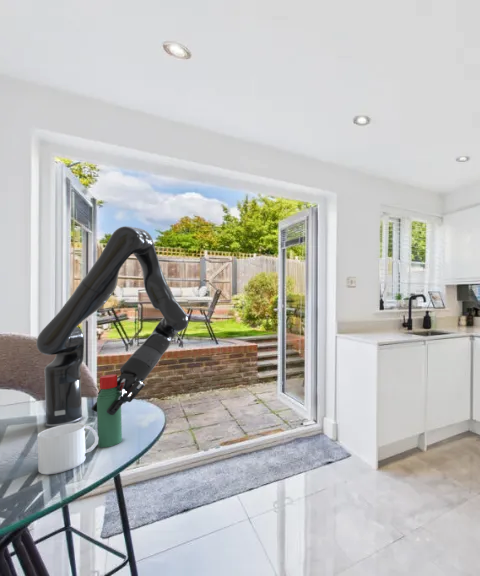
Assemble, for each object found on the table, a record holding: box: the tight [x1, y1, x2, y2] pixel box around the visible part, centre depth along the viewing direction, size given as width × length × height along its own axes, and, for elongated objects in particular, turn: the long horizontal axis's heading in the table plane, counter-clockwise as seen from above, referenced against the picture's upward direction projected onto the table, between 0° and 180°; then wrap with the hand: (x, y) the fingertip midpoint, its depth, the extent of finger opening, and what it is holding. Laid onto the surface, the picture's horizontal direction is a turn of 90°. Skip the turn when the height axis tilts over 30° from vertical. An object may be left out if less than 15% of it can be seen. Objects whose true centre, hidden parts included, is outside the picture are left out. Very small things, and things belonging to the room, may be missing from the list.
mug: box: [37, 422, 99, 475], centre depth 92 cm, size 12×9×9 cm
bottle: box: [96, 387, 123, 448], centre depth 104 cm, size 6×6×20 cm
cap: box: [99, 373, 118, 390], centre depth 104 cm, size 4×4×3 cm
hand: (102, 412), depth 102 cm, fingers open, 6 cm apart
